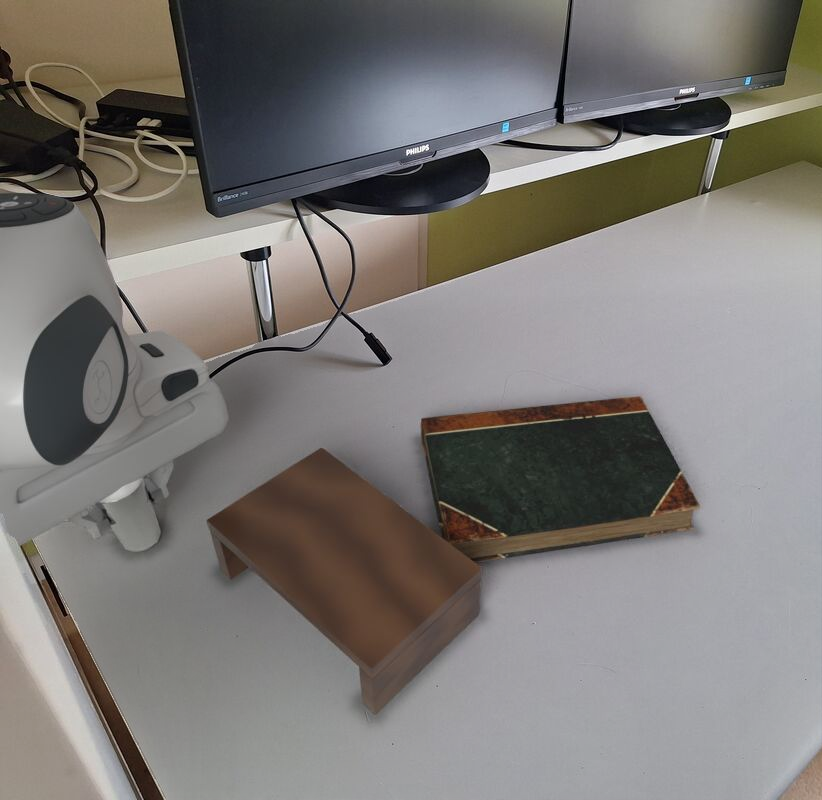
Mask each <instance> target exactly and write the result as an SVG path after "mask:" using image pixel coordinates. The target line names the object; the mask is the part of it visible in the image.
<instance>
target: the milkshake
mask: <svg viewBox="0 0 822 800" xmlns="http://www.w3.org/2000/svg"><path fill="white" fill-rule="evenodd" d="M93 506H94V507H95V508H96V509H97V510H98V511H99V513H100V514H102V515H103V516H105V517H107V518H108V520H109V523H110V524H109V525H110V526H111V528H112V530H111V531H112V532H113V533H114V535H115V536H116V538H117V539H118V541H119V542H120V543H121V545H122V546H123V548H124V550H127V551H130V552H133V553H138V552H142V551H147V550H149V549H150V548H152V547H153V546H154V545H156V544H157V543H159V540H160V536H161V534H162V531H161V527H160V524H159V521H158V519H157V515H156V512H155V509H154V505H153V504H152V503H151V500H150V496H149V493H148V489H147V485H146V482H145V476H144V477H142V478H140V479H138V480H136V481H134V482H132V483H129V484H127V485H125V486H123V487H121V488H120V489H119V490H117V491H116V492H115V493H113V494H111V495H110V496H108V497H106V498H105V499H103V500H101V501H99V502H97V503H96V504H94V505H93Z"/></svg>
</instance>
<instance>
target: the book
mask: <svg viewBox="0 0 822 800" xmlns="http://www.w3.org/2000/svg"><path fill="white" fill-rule="evenodd" d="M420 442H421V446H422V451H423V453H424V458H425V462H426V468H427V473H428V478H429V484H430V488H431V489H430V490H431V494H432V500H433V503H434V508H435V513H436V517H437V521H438V526H439V530H440V536H441V537H442V538H443V539H444V540H446V541H447V542H448V543H450V544H451V545H452V546H454V547H455V548H456V549H458V550H459V551H460V552H462V553H463V554H464V555H466V556H467V557H468V558H470V559H471V560H472V561H474V562H475V563H480V562H487V561H493V560H500V559H507V558H508V559H509V558H514V557H520V556H527V555H535V554H541V553H547V552H554V551H561V550H569V549H574V548H575V549H576V548H581V547H589V546H593V545H601V544H607V543H615V542H619V541H620V542H621V541H626V540H633V539H640V538H646V537H652V536H658V535H665V534H671V533H678V532H683V531H689V530H690V531H691V530H692V531H693V530H694V526H693V524H692V521H691V520H692V518H693V513H694V511H695V510H699V509H701V505H700V503H699V501H698V499H697V498H696V496H695V494H694V492H693V490H692V488H691V486H690V485H689V483H688V481H687V479H686V477H685V475H684V473H683V472H682V470H681V467H680V466H679V464H678V463H677V461H676V459H675V457H674V455H673V453H672V451H671V449H670V448H669V446H668V444H667V442H666V440H665V438H664V437H663V435H662V433H661V431H660V429H659V427H658V425H657V424H656V422H655V420H654V417H653V416H652V414H651V413H650V411H649V409H648V407H647V404H646V402H645V401H644V400H643V397H642V396H640V395H638V396H627V397H617V398H616V397H615V398H606V399H595V400H586V401H577V402H567V403H558V404H548V405H546V404H545V405H537V406H528V407H518V408H506V409H497V410H488V411H487V410H485V411H478V412H467V413H459V414H457V413H456V414H448V415H441V416H440V415H439V416H429V417H423V418H420Z"/></svg>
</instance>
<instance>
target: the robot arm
mask: <svg viewBox="0 0 822 800" xmlns="http://www.w3.org/2000/svg"><path fill="white" fill-rule="evenodd" d="M123 308H124V307H123V302H122V299H121V296H120V292H119V289H118V286H117V282H116V280H115V277H114V275H113V272H112V269H111V267H110V264H109V261H108V259H107V257H106V254H105V252H104V250H103V248H102V246H101V243H100V242H99V239H98V237H97V235H96V233H95V231H94V229H93V227H92V226H91V224H90V221H88V218H87V217H86V216H85V214H84V212H83V211H82V210H81V208H80V207H79V206H78V205H77V204H75V202H73V201H71V200H70V199H67V198H63V197H60V196H57V195H54V194H49V193H48V194H47V193H34V192H33V193H32V192H3V193H1V192H0V513H1V514H3V516H4V519H5V524H6V528H7V531H8V533H9V535H10V536H12V537H14V538H15V539H16V541H17V542H18V545H19V547H21V546H23V545H25V544H26V543H29V542H30V541H33V540H34V539H35V538H37V537H39V536H41V535H42V534H44V533H46V532H48V531H50V530H51V529H53V528H55V527H57V526H59V525H60V524H62V523H64V522H66V521H67V520H68V521H69V522H70V523H71V524H73V525H76V526H79V527H81V528H84V529H85V530H86V532H87V533H88V534H89V536H90V537H92V538H93V540H97V539H100V538H101V537H103V536H104V535H106V534H108V533H109V532H111V531H113V530H112V528H111V526H110V525H109V524H110V523H109V520H108V518H107V517H105V516H103V515H102V514H100V513H99V511H98V510H97V509H96V507H95V508H93V509H91V510H88V508H90V507H92V506H94V504H96V503H97V502H99V501H101V500H103V499H105V498H106V497H108V496H110V495H111V494H113V493H115V492H116V491H117V490H119V489H120V488H121V487H123V486H125V485H127V484H129V483H132V482H134V481H136V480H138V479H140V478H142V477H144V478H145V476H147V478H146V479H145V482H146V485H147V489H148V493H149V496H150V500H151V503H152V506H154V505H156V504H158V503H160V502H162V501H163V500H166V499H167V498H168V497H170V492H169V489H168V486H167V485H168V483H169V481H170V478H171V475H172V472H173V470H174V467H175V464H174V460H175V459H177V458H179V457H181V456H183V455H185V454H186V453H188V452H190V451H192V450H193V449H195V448H197V447H199V446H200V445H202V444H204V443H206V442H208V441H209V440H211V439H213V438H214V437H217V436H218V435H220V434H222V433H223V432H224V431H225V430H226V427H227V425H228V423H229V420H230V414H229V410H228V407H227V403H226V401H225V398H224V395H223V393H222V390H221V388H220V387H219V385H218V384H217V383H216V382H215V381H214V380H213V379H212V378H211V377H210V371H209V366H208V365H207V363H206V362H205V361H204V360H203V359H202V357H200V356H199V355H198V353H196V352H195V351H194V350H193V349H192V348H190V347H189V346H187V345H186V344H185V343H183V342H182V341H180V340H179V339H177V338H176V337H174V336H172V335H171V334H169V333H166V332H165V331H162V330H154V331H148V332H140V333H135V334H128V333H127V331H126V330H125V328H124V325H123V317H124V309H123Z"/></svg>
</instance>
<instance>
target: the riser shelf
mask: <svg viewBox="0 0 822 800" xmlns="http://www.w3.org/2000/svg"><path fill="white" fill-rule="evenodd" d="M206 523H207V527H208V530H209V534H210V538H211V540H212V544H213V548H214V551H215V555H216V559H217V563H218V564H219V565H218V566H219V569H220V571H221V573H223V575H225V576H226V577H227V578H228V579H229V580H233V579H235V578H236V577H237V576H239V575H240V574H241V573H243V572H244V571H245V570H247V569H248V568H249V569H251V571H253V572H254V573H255V574H256V576H258V577H260V578H261V580H263V581H264V582H265V583H266V584H267V585H268V586H269V587H270V588H271V589H273V590H274V591H275V592H276V593H277V594H278V595H279V596H280V597H281V598H282V599H284V600H285V602H287V603H288V604H289V605H290V606H291V607H292V608H294V609H295V610H296V612H298V613H299V614H300V615H301V616H302V617H303V618H305V619H306V620H307V621H308V622H309V623H310V624H311V625H312V626H313V627H314V628H316V629H317V631H319V632H320V633H321V634H322V635H323V636H324V637H326V639H327V640H328V641H330V643H332V644H333V645H334V646H335V647H337V649H339V650H340V651H341V653H343V654H344V655H345V656H346V657H348V658H349V660H351V661H352V662H353V664H355V665H356V666H357V667H358V671H359V681H360V691H361V700H362V701H361V702H362V704H363V705H364V706H365V707H366V708H367V709H368V710H369V711H370V712H371V713H372V714H373V715H377V714H378V713H379V712H380V711H381V710H382V709H383V708H384V707H385V706H387V704H388V703H389V702H390V701H391V700H393V698H395V697H396V696H397V695H398V694H399V693H400V692H401V691H402V690H403V689H404V688H405V687H406V686H407V685H408V684H409V683H410V682H411V681H412V680H413V679H415V677H416V676H418V675H419V673H421V672H422V670H424V669H425V668H426V667H427V666H428V665H429V664H430V663H431V662H432V661H433V660H434V659H436V657H438V655H439V654H440V653H441V652H443V650H445V649H446V647H447V646H448V645H450V644H451V642H453V641H454V640H455V639H456V638H457V637H458V636H459V635H460V634H461V633H462V632H463V631H464V630H465V629H466V628H467V627H468V626H469V625H470V624H472V622H474V621H475V619H476V618H478V616H479V607H480V598H481V586H482V584H481V583H482V577H483V576H482V574H483V567H482V566H480V565H479V564H478V563H477V562H474V561H472V560H471V559H470V558H468V557H467V556H466V555H464V554H463V553H462V552H460V551H459V550H458V549H456V548H455V547H454V546H452V545H451V544H450V543H448V542H447V541H446V540H444V539H443V538H442V536H441V535H439V534H438V533H437V532H435V531H434V530H433V529H431V528H430V527H429V526H427V525H426V524H424V522H422V521H421V520H419V519H418V518H417V517H416V516H414V515H412V514H411V513H410V512H409V511H407V510H406V509H405V508H403V507H402V506H401V505H399V504H398V503H397V502H395V501H394V500H393V499H391V498H390V497H389V496H387V495H386V494H385V493H383V492H382V491H380V490H379V489H378V488H377V487H375V485H372V484H371V483H370V482H369V481H367V480H366V479H365V478H363V477H362V476H361V475H359V474H358V473H357V472H355V471H354V470H353V469H352V468H350V467H349V466H348V465H346V464H345V463H343V462H342V461H340V459H338V457H335V456H334V455H333V454H331V453H330V452H329V451H327V450H326V449H325V448H323V447H322V446H321V447H319V448H318V449H316V450H314V451H313V452H311V453H310V454H308V455H306V456H305V457H304V458H302V459H300V460H299V461H297V462H296V463H293V464H292V465H291V466H289V467H288V468H286V469H284V470H283V471H281V472H280V473H278V474H276V475H275V476H274V477H271V478H270V479H269V480H267V481H266V482H264V483H263V484H261V485H259V486H258V487H256V488H255V489H253V490H252V491H249V492H248V493H247V494H244V495H243V496H242V497H240V498H239V499H237V500H235V501H234V502H233V503H230V504H229V505H227V506H226V507H224V508H223V509H221V510H220V511H218V512H216V513H215V514H213V515H211V517H208V518H207V519H206Z"/></svg>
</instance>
